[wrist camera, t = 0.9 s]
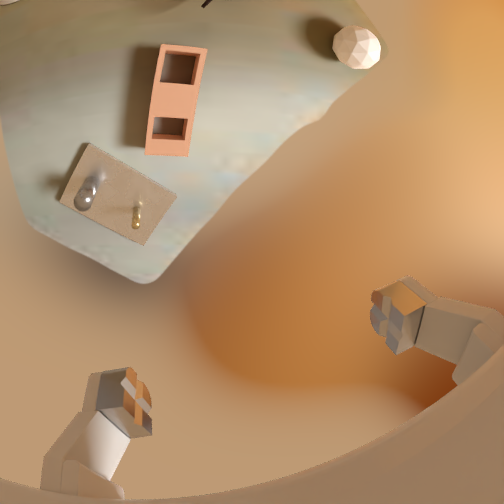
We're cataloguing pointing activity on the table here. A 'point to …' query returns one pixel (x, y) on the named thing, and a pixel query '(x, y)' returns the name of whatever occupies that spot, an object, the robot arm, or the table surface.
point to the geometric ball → (356, 47)
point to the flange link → (174, 104)
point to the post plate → (116, 195)
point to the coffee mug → (206, 3)
